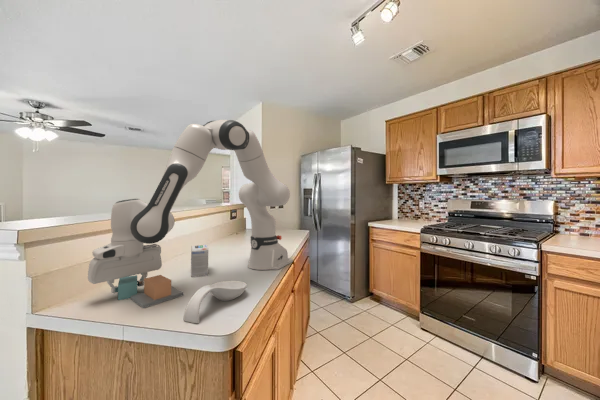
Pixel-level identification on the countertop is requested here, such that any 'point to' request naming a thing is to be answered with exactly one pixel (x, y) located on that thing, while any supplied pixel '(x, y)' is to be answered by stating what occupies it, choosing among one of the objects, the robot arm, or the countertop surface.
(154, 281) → the terracotta brick
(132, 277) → the teal brick
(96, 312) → the countertop surface
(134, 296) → the grey baseplate
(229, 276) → the countertop surface
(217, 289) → the spoon rest
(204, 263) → the light bulb box
